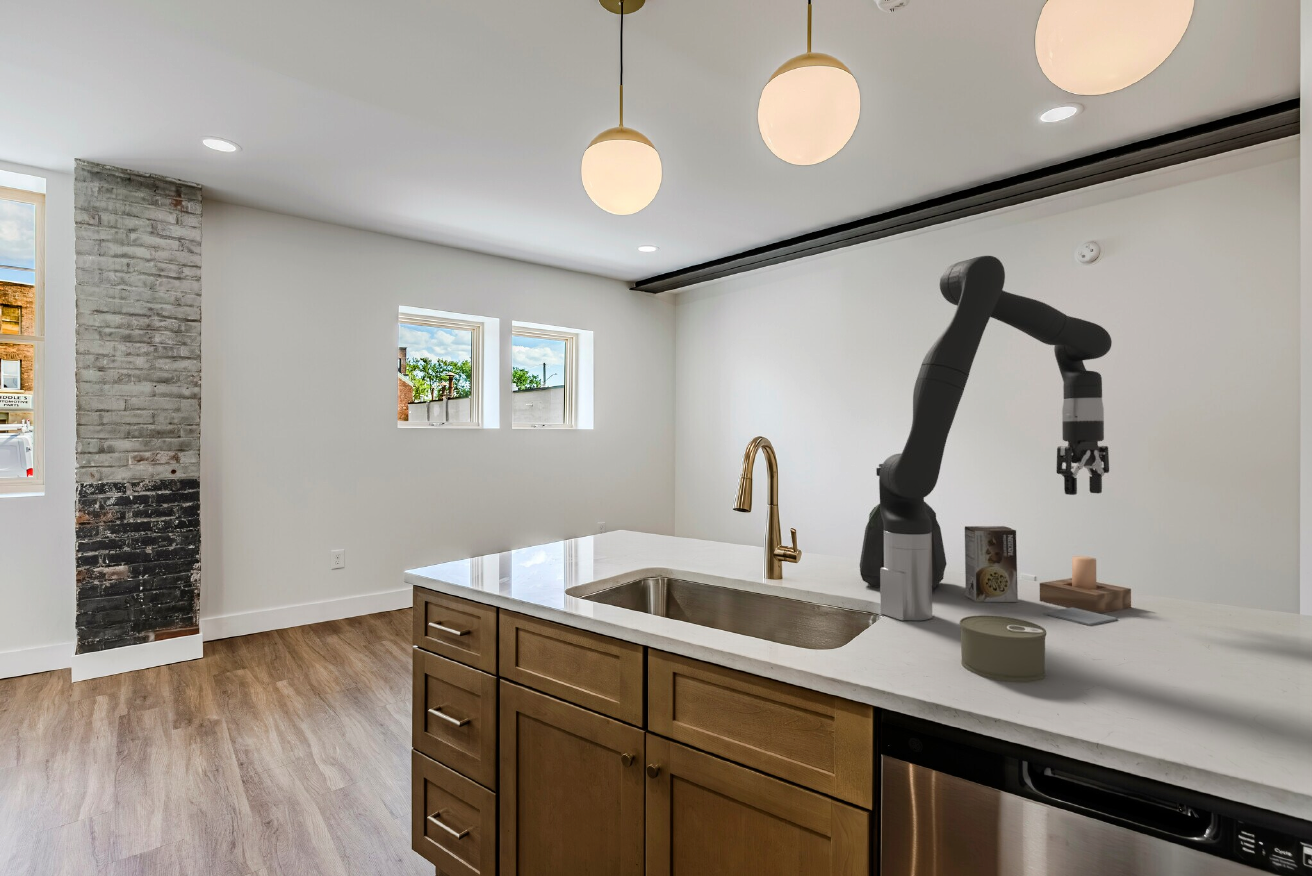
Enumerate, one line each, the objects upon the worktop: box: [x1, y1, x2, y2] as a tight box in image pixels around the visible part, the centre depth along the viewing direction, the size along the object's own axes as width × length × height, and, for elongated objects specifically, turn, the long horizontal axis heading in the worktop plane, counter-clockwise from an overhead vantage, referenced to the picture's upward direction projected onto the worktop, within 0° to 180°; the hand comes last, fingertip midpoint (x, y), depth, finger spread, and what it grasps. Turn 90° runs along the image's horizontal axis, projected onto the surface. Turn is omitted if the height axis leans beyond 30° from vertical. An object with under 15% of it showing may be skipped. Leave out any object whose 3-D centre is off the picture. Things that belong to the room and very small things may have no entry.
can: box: [959, 614, 1047, 683], centre depth 100 cm, size 12×12×7 cm
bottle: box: [859, 463, 948, 590], centre depth 158 cm, size 18×16×30 cm
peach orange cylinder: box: [1071, 556, 1097, 590], centre depth 139 cm, size 4×4×10 cm
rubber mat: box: [1043, 607, 1118, 627], centre depth 129 cm, size 9×9×1 cm
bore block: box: [1039, 577, 1132, 614], centre depth 139 cm, size 12×12×4 cm
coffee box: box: [964, 525, 1019, 603], centre depth 144 cm, size 9×6×16 cm
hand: (1083, 493), depth 139 cm, fingers open, 8 cm apart
